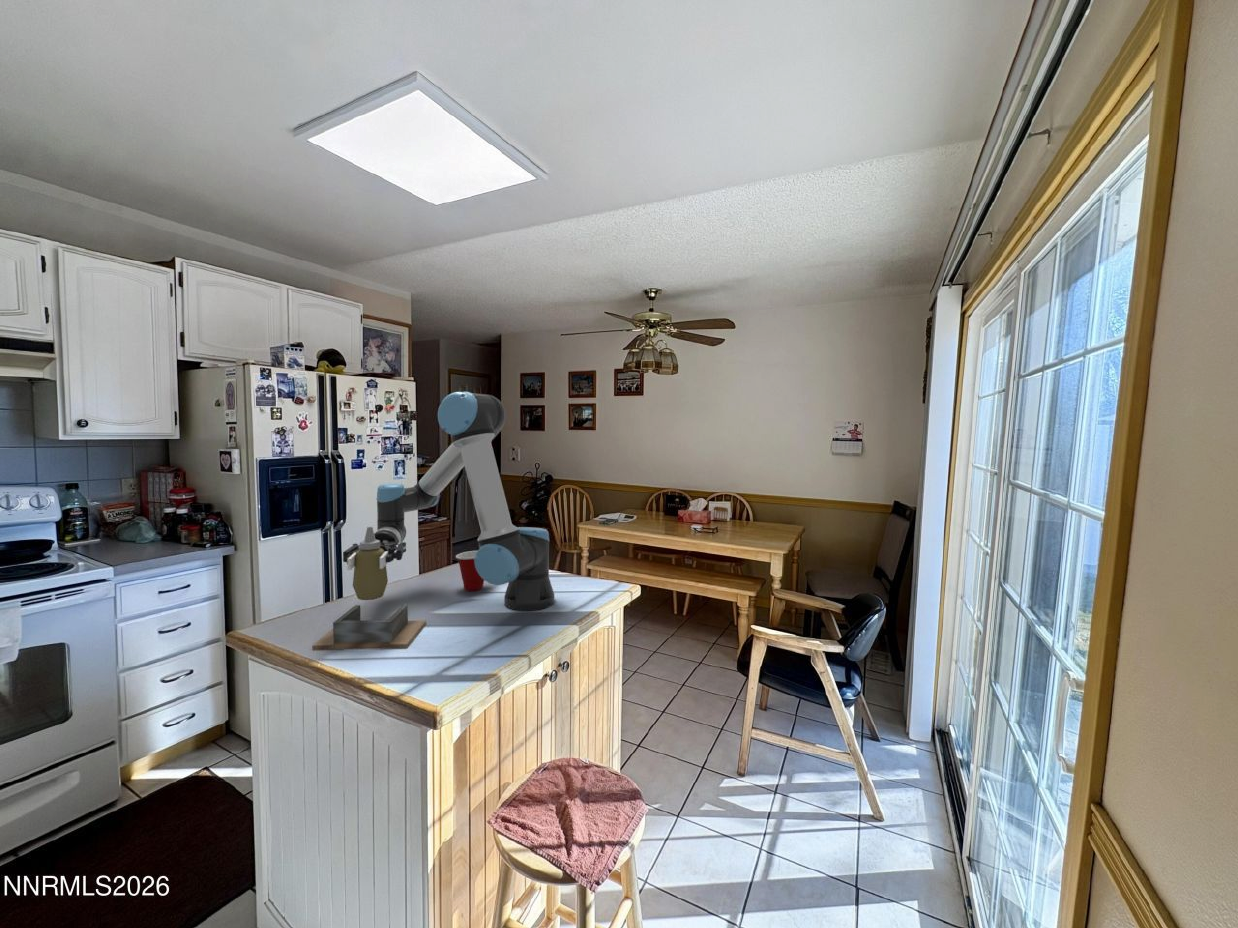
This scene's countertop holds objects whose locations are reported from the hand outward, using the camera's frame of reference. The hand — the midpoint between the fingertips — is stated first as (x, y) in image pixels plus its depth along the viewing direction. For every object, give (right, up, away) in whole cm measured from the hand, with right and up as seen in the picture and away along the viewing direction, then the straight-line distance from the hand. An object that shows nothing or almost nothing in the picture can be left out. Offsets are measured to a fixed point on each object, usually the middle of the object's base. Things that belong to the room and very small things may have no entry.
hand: (365, 563), depth 124 cm
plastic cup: (+13, -17, +45) cm, 50 cm away
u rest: (-1, -19, +6) cm, 20 cm away
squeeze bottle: (-1, -10, +6) cm, 11 cm away
